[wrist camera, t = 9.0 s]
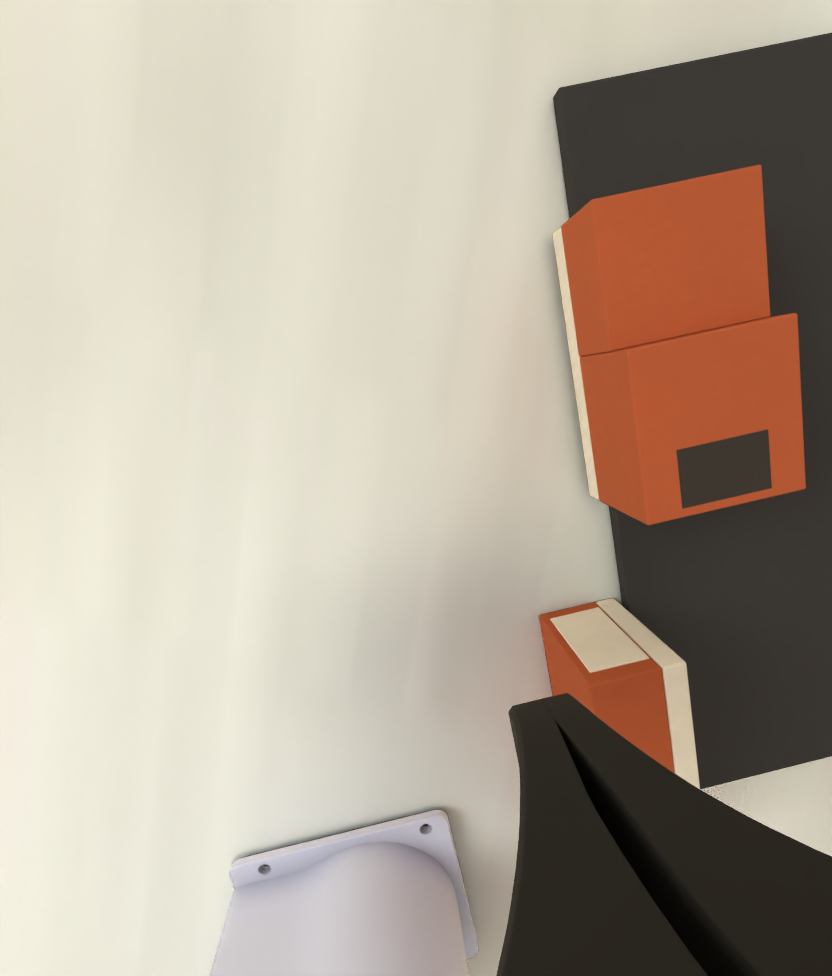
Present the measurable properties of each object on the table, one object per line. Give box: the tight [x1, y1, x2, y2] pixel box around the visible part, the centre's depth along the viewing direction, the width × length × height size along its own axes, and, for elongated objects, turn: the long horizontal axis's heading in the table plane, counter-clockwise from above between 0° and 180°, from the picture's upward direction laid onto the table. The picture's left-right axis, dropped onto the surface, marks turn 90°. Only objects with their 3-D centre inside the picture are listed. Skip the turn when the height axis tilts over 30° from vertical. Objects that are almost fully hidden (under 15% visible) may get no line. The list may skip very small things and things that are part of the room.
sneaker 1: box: [539, 598, 700, 789], centre depth 19 cm, size 4×10×5 cm, turn 12°
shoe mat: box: [553, 33, 832, 789], centre depth 20 cm, size 11×28×1 cm, turn 12°
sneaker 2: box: [553, 165, 806, 525], centre depth 16 cm, size 4×10×5 cm
